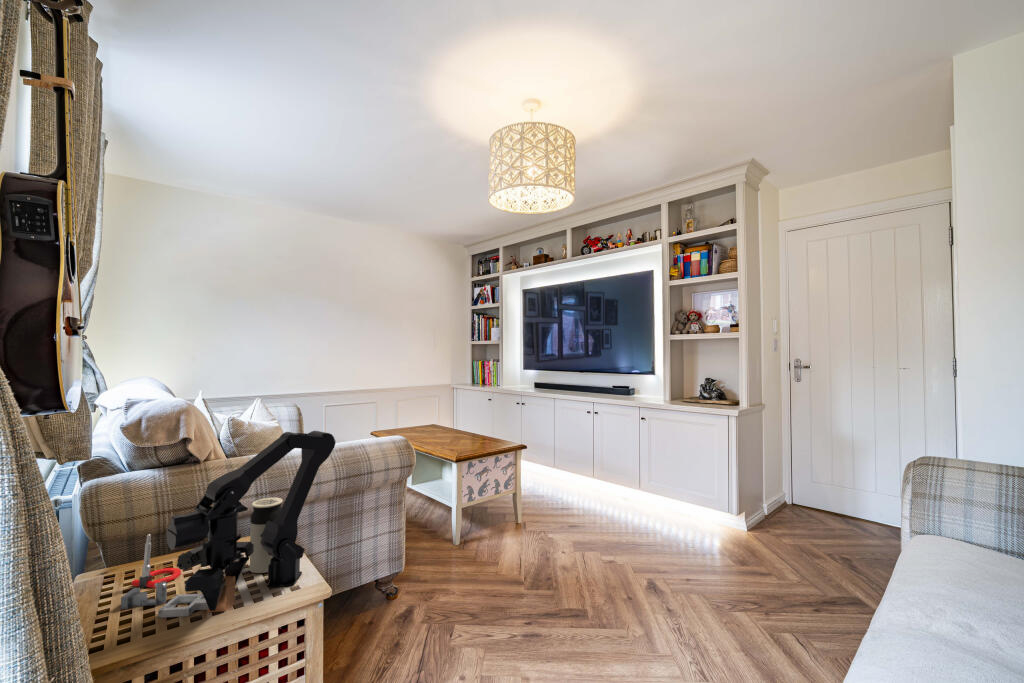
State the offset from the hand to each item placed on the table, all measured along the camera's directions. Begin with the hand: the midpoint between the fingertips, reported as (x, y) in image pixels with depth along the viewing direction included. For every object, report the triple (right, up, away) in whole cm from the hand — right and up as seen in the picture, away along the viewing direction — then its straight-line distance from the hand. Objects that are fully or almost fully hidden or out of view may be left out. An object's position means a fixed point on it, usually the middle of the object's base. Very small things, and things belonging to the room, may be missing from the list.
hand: (221, 601), depth 104 cm
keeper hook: (-18, -1, +1) cm, 18 cm away
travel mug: (0, -2, +19) cm, 19 cm away
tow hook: (-24, -2, +12) cm, 28 cm away
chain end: (-5, -1, -1) cm, 5 cm away
